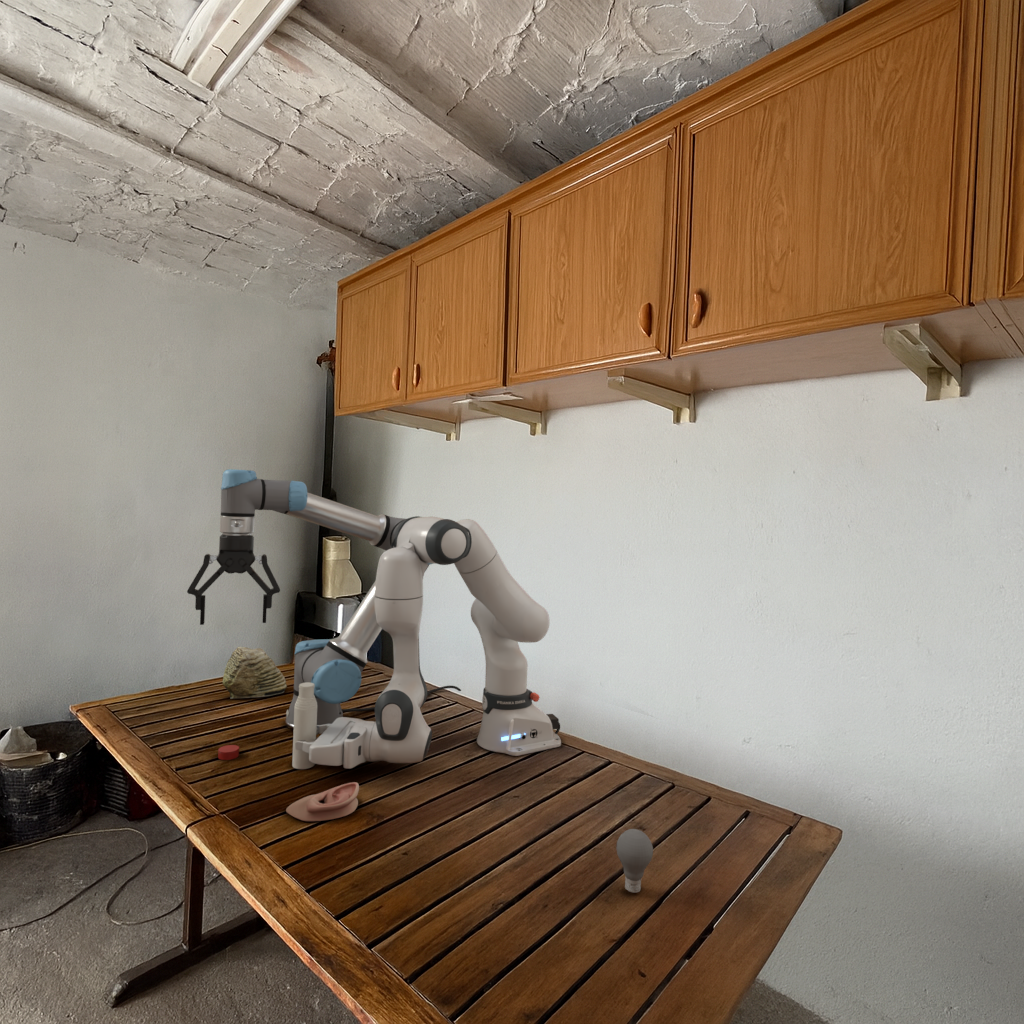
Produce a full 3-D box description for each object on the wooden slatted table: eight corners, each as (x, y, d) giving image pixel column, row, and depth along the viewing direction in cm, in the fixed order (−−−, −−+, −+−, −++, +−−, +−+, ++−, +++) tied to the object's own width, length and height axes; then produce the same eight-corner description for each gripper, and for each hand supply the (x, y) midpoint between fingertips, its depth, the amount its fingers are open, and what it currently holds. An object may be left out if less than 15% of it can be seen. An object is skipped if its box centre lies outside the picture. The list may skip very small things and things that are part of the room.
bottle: (307, 770, 146) (310, 688, 146) (287, 767, 147) (290, 686, 147) (319, 762, 151) (322, 682, 151) (300, 758, 152) (303, 680, 152)
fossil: (218, 695, 195) (220, 647, 195) (278, 685, 208) (279, 640, 207) (228, 703, 189) (230, 653, 188) (289, 692, 201) (290, 645, 201)
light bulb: (610, 879, 108) (613, 822, 108) (644, 879, 109) (647, 822, 109) (619, 902, 102) (622, 840, 102) (655, 901, 103) (658, 840, 103)
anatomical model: (278, 797, 124) (308, 772, 135) (277, 817, 124) (307, 791, 136) (340, 806, 122) (366, 781, 133) (339, 827, 122) (365, 799, 133)
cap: (242, 753, 154) (242, 745, 154) (232, 760, 150) (232, 753, 150) (224, 751, 154) (224, 744, 154) (214, 759, 150) (214, 751, 150)
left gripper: (176, 534, 143) (173, 627, 143) (293, 536, 152) (289, 624, 153) (180, 532, 150) (176, 621, 150) (291, 534, 159) (288, 618, 160)
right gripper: (374, 712, 159) (320, 709, 159) (349, 743, 138) (287, 739, 139) (373, 737, 159) (319, 733, 160) (348, 772, 138) (286, 768, 139)
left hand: (233, 622), depth 152 cm, fingers open, 13 cm apart
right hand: (304, 736), depth 149 cm, fingers open, 8 cm apart
